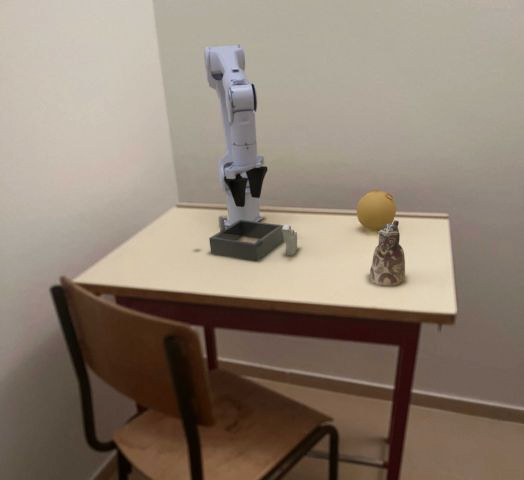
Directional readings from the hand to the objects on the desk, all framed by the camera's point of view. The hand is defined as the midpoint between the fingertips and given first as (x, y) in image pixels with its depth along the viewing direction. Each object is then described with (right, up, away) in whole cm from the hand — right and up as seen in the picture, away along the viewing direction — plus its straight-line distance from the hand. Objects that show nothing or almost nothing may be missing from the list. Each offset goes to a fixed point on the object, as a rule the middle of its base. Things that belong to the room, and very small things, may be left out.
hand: (248, 201), depth 126 cm
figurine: (+30, -21, -17) cm, 40 cm away
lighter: (+10, -14, -2) cm, 17 cm away
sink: (0, -10, +3) cm, 11 cm away
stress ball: (+33, -5, +9) cm, 34 cm away
